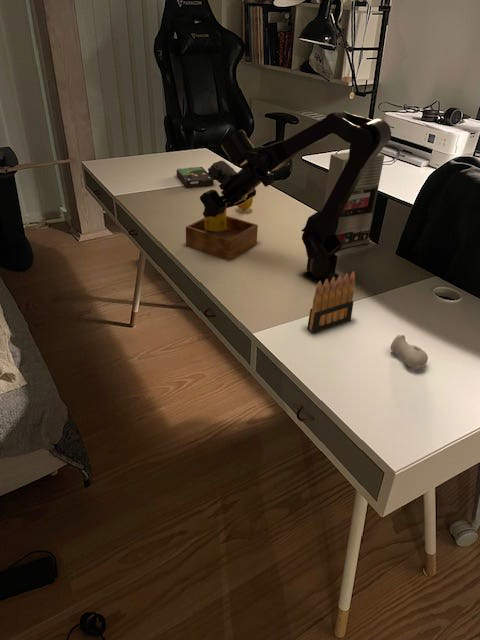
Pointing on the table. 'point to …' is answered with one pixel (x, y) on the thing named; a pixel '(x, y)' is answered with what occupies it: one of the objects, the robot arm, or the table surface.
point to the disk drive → (194, 177)
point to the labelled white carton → (356, 200)
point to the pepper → (215, 222)
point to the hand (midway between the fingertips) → (211, 211)
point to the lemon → (245, 204)
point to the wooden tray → (222, 237)
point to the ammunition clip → (332, 304)
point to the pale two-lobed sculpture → (409, 352)
